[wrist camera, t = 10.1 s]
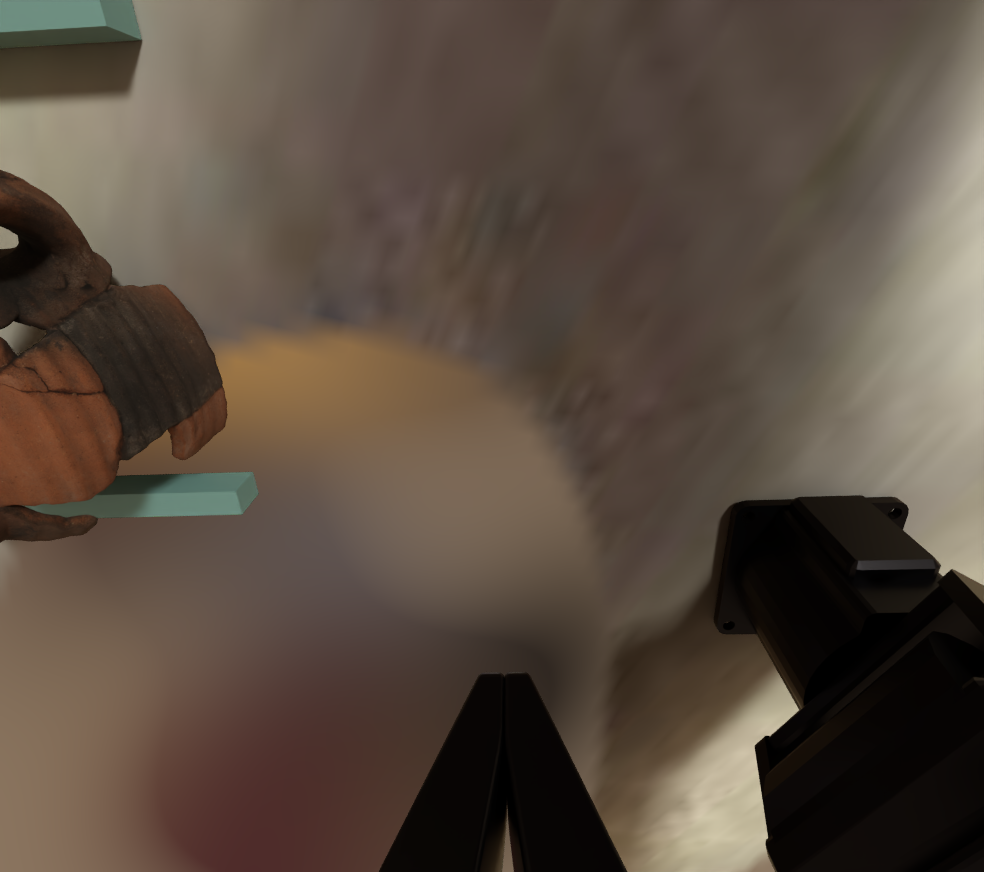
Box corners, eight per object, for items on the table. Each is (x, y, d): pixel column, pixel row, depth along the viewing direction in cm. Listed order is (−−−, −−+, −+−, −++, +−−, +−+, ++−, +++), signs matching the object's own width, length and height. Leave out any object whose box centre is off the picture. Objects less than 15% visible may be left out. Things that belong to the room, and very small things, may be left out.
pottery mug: (254, 491, 22) (29, 638, 16) (110, 389, 25) (-128, 485, 19) (219, 188, 15) (-224, 259, 9) (18, 91, 18) (-422, 95, 12)
